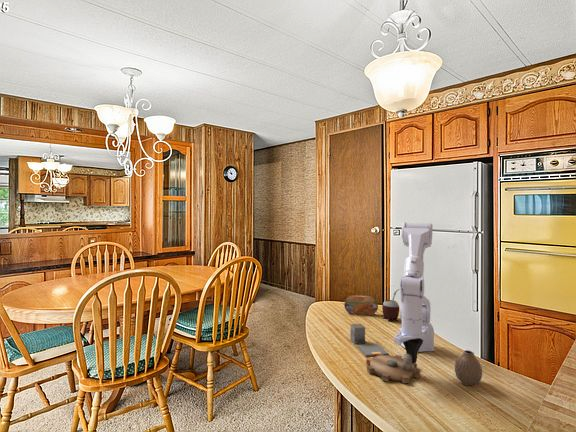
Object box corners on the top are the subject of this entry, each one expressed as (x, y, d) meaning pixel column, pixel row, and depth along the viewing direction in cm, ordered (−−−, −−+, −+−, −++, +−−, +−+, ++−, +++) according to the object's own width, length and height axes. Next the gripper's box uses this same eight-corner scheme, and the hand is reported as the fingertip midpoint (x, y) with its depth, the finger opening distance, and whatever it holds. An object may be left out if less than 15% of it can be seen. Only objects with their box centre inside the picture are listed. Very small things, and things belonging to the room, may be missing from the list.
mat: (377, 345, 121) (377, 343, 121) (388, 354, 113) (388, 352, 113) (356, 346, 119) (356, 344, 119) (366, 356, 111) (366, 354, 111)
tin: (344, 314, 155) (344, 295, 155) (344, 311, 158) (344, 294, 158) (377, 316, 153) (378, 297, 152) (377, 313, 156) (377, 295, 156)
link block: (360, 339, 126) (360, 323, 126) (364, 343, 122) (365, 327, 122) (350, 340, 125) (350, 324, 125) (354, 344, 121) (354, 328, 121)
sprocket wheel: (375, 353, 113) (375, 337, 113) (424, 365, 105) (424, 348, 104) (358, 373, 100) (358, 355, 100) (413, 388, 91) (413, 369, 91)
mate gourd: (384, 315, 153) (385, 283, 152) (402, 319, 149) (403, 285, 148) (380, 320, 146) (380, 286, 146) (398, 324, 142) (399, 288, 142)
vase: (481, 391, 91) (482, 359, 91) (453, 384, 95) (453, 353, 94) (482, 380, 97) (483, 350, 97) (455, 373, 101) (456, 344, 100)
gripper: (414, 309, 107) (413, 351, 108) (385, 318, 99) (384, 364, 99) (434, 315, 102) (434, 359, 102) (406, 325, 93) (405, 373, 94)
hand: (411, 362), depth 100 cm, fingers closed, pressing on sprocket wheel
